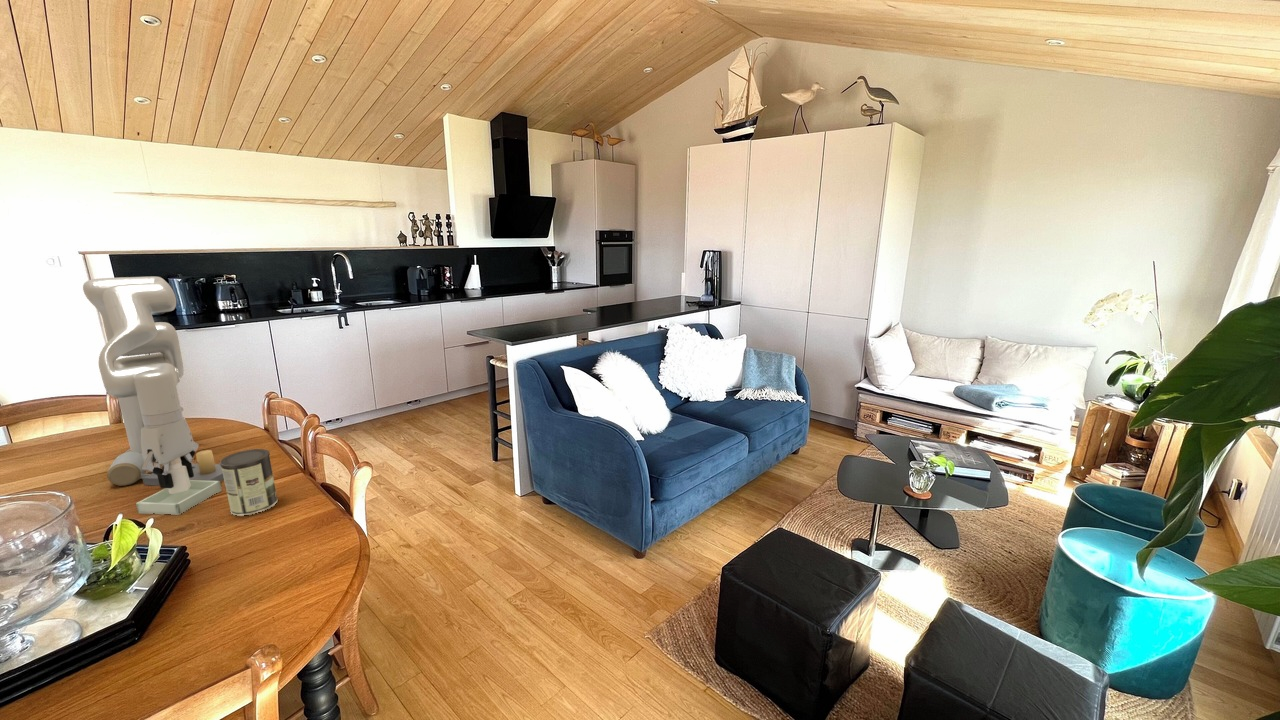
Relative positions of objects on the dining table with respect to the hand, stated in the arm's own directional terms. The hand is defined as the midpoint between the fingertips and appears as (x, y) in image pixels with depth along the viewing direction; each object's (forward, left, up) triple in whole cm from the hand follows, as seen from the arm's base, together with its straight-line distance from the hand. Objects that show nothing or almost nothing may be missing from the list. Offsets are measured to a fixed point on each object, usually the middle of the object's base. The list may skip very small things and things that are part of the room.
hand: (177, 481), depth 138 cm
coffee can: (+1, +21, -6) cm, 22 cm away
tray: (0, 0, -6) cm, 6 cm away
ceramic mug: (-11, -24, -6) cm, 27 cm away
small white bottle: (0, 0, -3) cm, 3 cm away
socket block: (-13, -9, -6) cm, 17 cm away
